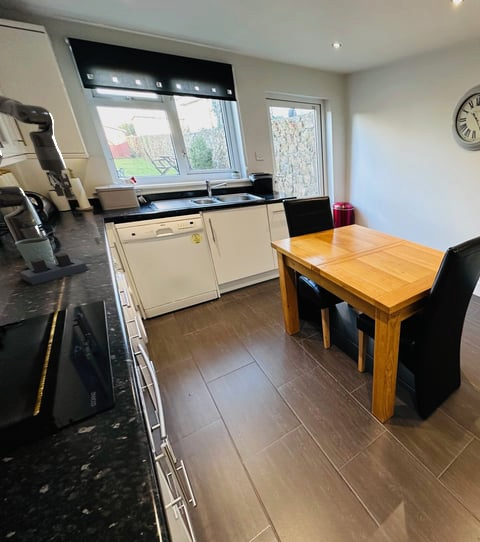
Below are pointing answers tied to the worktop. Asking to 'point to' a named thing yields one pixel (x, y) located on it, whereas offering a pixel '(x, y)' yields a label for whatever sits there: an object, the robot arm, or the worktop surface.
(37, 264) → the mounted pad
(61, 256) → the back pad
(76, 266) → the pad mount
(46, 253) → the drinking glass
